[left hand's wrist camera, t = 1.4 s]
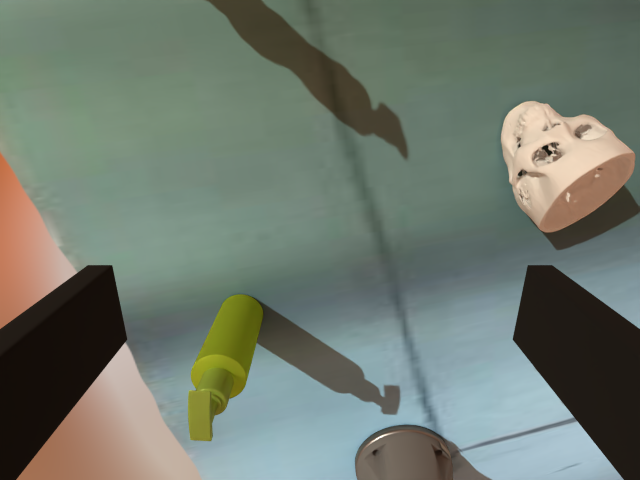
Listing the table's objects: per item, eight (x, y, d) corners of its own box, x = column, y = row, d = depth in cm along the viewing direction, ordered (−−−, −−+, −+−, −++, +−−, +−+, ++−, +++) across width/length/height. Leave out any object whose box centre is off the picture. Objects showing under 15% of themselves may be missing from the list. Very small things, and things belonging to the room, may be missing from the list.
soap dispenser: (263, 288, 52) (232, 397, 33) (262, 332, 54) (232, 456, 36) (219, 286, 52) (163, 393, 33) (220, 330, 54) (168, 453, 36)
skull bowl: (564, 61, 41) (661, 123, 33) (559, 150, 52) (632, 212, 44) (472, 115, 43) (544, 185, 35) (485, 190, 53) (543, 257, 46)
